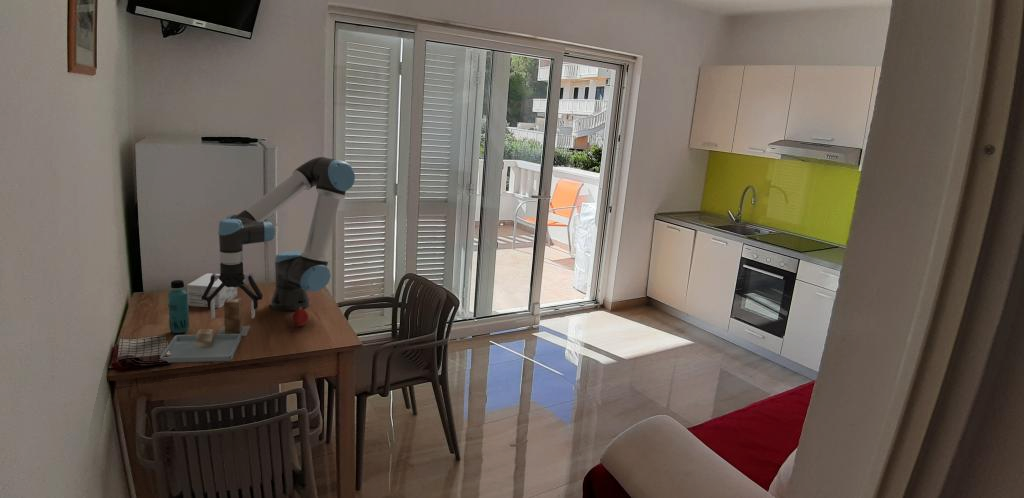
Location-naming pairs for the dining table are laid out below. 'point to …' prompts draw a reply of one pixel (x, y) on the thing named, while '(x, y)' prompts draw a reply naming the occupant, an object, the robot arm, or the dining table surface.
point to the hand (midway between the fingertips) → (233, 317)
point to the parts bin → (202, 349)
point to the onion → (300, 317)
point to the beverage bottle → (178, 308)
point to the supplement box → (199, 287)
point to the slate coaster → (243, 333)
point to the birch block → (205, 338)
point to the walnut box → (233, 315)
